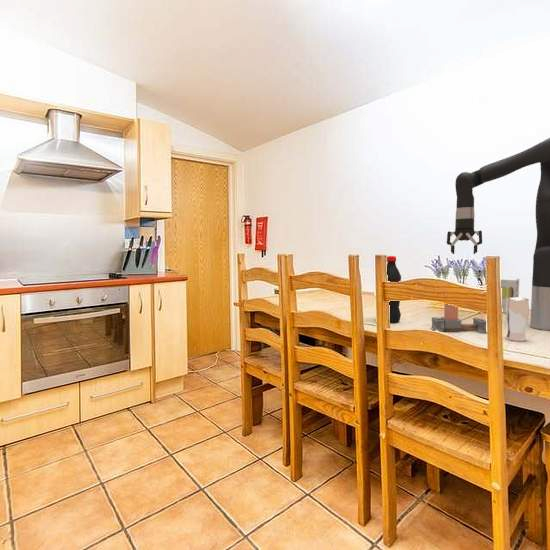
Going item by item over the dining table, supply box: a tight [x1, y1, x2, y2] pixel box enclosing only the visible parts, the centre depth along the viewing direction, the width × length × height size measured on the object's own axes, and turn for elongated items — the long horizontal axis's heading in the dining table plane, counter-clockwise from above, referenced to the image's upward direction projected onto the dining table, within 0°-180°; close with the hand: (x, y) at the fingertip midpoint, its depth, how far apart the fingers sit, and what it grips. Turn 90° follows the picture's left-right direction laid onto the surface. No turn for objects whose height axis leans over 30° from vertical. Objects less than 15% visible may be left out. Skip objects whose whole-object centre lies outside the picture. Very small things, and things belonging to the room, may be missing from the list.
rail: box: [431, 316, 487, 334], centre depth 144 cm, size 19×7×5 cm, turn 79°
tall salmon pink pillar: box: [440, 303, 462, 328], centre depth 144 cm, size 6×6×17 cm
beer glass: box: [505, 296, 530, 342], centre depth 130 cm, size 7×7×15 cm
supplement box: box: [500, 277, 520, 314], centre depth 178 cm, size 10×9×17 cm
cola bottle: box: [386, 255, 402, 324], centre depth 162 cm, size 8×8×30 cm
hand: (463, 253), depth 162 cm, fingers open, 8 cm apart
